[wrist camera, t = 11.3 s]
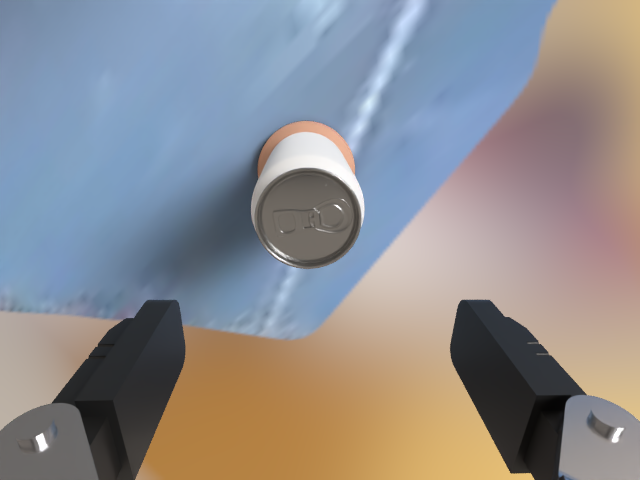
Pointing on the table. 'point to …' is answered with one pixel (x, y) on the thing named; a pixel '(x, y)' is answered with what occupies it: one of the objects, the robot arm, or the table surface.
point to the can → (307, 202)
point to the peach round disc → (305, 127)
